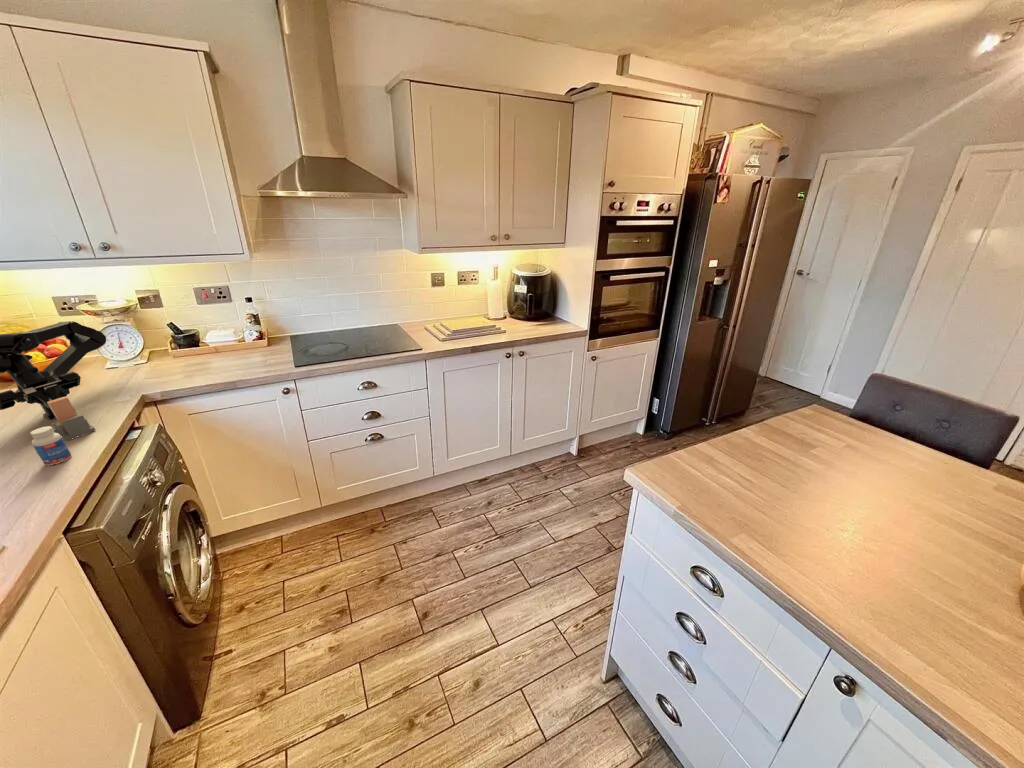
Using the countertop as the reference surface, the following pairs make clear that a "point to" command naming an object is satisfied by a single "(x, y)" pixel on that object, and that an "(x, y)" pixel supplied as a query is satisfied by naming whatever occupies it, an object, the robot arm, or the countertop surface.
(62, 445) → the pill bottle
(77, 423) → the switch base
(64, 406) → the orange tall block
